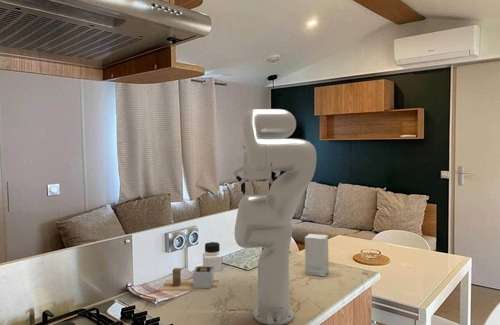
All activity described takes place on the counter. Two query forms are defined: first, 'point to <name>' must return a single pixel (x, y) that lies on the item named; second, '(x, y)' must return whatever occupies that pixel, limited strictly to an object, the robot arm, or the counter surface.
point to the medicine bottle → (212, 256)
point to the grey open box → (203, 278)
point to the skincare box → (316, 254)
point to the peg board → (184, 283)
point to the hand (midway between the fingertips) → (257, 193)
